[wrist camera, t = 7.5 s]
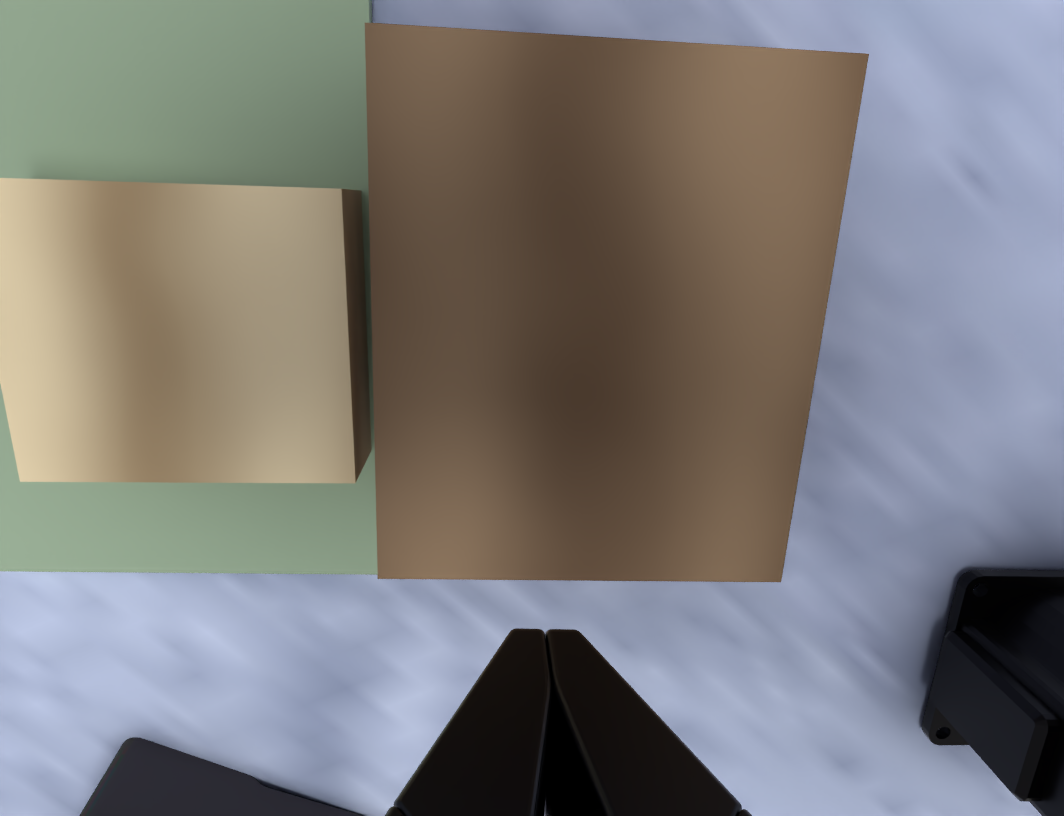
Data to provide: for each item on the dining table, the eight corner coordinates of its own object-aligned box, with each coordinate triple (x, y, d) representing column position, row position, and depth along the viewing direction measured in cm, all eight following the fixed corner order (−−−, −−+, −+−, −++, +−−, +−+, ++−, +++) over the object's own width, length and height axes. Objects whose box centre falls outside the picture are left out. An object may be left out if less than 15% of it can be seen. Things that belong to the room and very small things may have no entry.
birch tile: (361, 190, 17) (341, 188, 15) (371, 450, 19) (355, 483, 17) (31, 180, 17) (-41, 176, 15) (77, 447, 19) (20, 482, 17)
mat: (370, -31, 16) (367, -36, 16) (383, 567, 21) (381, 574, 20) (-119, -64, 16) (-135, -71, 15) (4, 563, 20) (-5, 571, 20)
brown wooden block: (786, 86, 18) (868, 54, 14) (728, 512, 21) (780, 582, 17) (393, 63, 17) (364, 22, 13) (399, 507, 20) (377, 578, 16)
